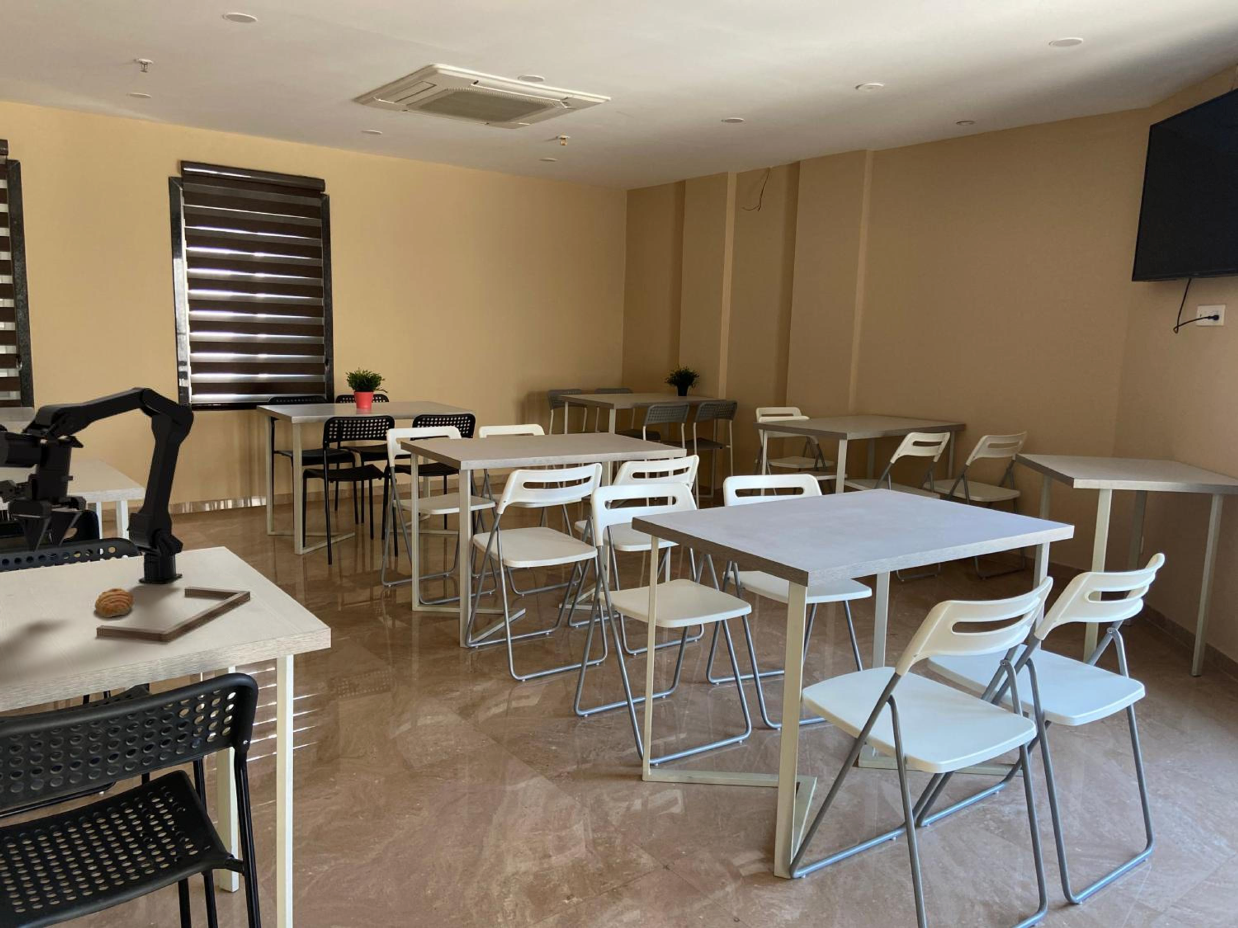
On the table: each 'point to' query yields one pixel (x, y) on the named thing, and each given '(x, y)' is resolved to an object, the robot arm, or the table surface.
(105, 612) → the pastry
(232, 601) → the walnut frame
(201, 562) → the table surface
